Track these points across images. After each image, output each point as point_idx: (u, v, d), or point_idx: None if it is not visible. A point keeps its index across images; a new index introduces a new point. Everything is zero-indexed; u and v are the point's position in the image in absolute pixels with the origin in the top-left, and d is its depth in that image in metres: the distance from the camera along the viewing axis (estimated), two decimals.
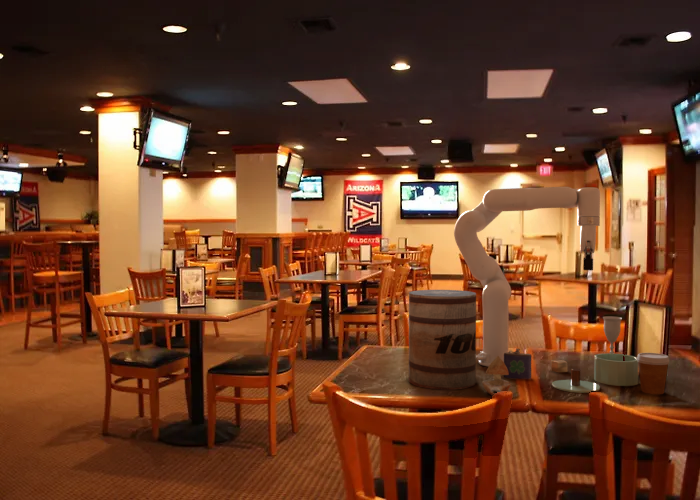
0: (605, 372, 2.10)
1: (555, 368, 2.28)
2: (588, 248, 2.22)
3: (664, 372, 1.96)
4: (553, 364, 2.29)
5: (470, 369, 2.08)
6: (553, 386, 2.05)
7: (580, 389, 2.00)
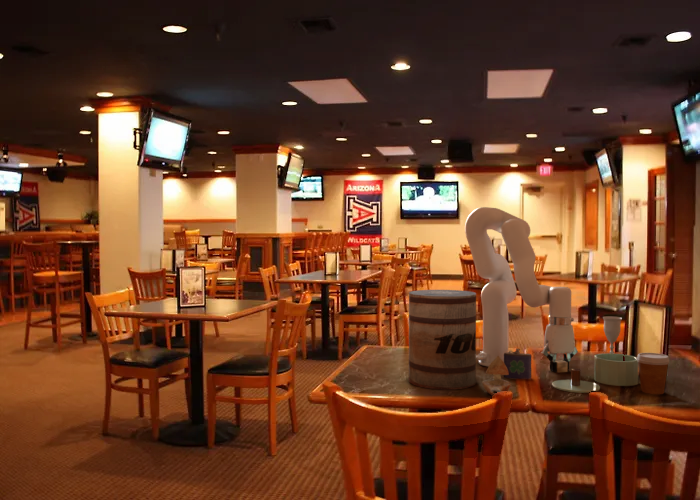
0: (605, 372, 2.10)
1: None
2: (542, 353, 2.27)
3: (664, 372, 1.96)
4: None
5: (470, 369, 2.08)
6: (553, 386, 2.05)
7: (580, 389, 2.00)
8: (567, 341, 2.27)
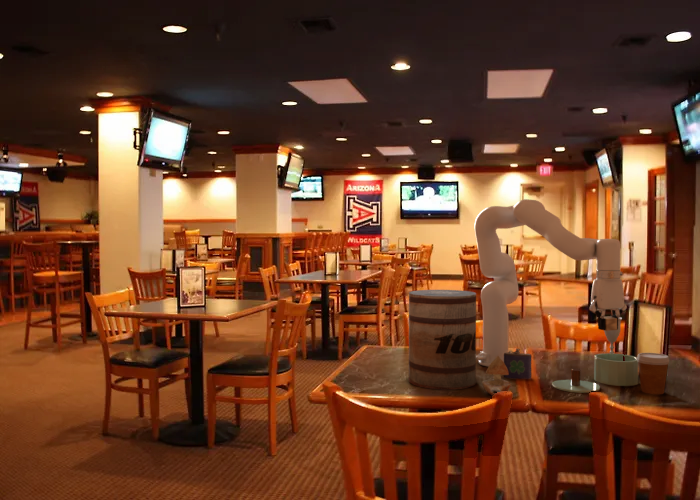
0: (605, 372, 2.10)
1: None
2: (590, 309, 2.14)
3: (664, 372, 1.96)
4: None
5: (470, 369, 2.08)
6: (553, 386, 2.05)
7: (580, 389, 2.00)
8: (617, 296, 2.13)
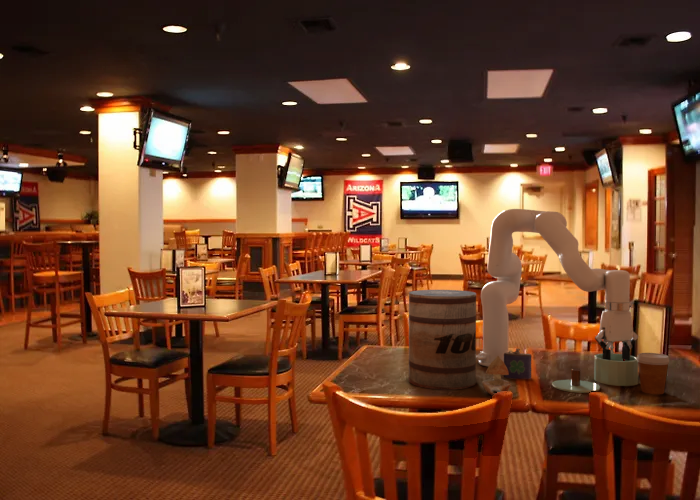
0: (605, 372, 2.10)
1: None
2: (596, 339, 2.12)
3: (664, 372, 1.96)
4: None
5: (470, 369, 2.08)
6: (553, 386, 2.05)
7: (580, 389, 2.00)
8: (625, 328, 2.11)
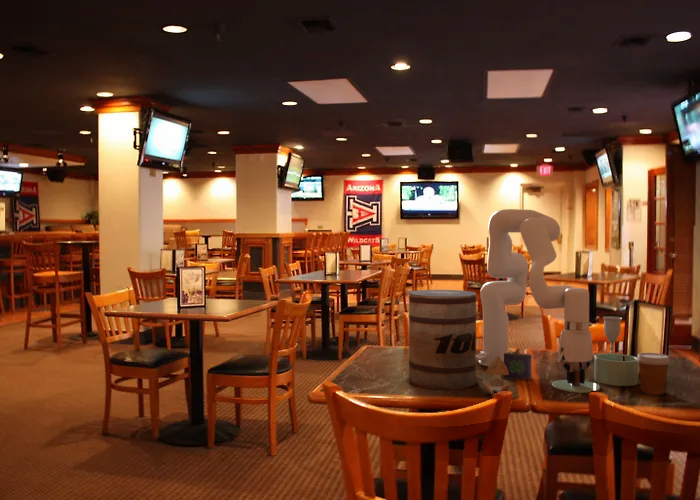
0: (605, 372, 2.10)
1: None
2: (558, 363, 2.04)
3: (664, 372, 1.96)
4: None
5: (470, 369, 2.08)
6: (553, 386, 2.05)
7: (580, 389, 2.00)
8: (585, 349, 2.03)
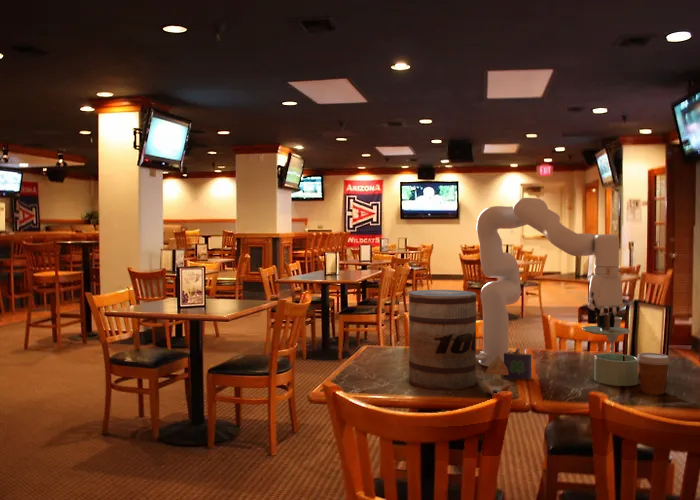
0: (605, 372, 2.10)
1: None
2: (589, 307, 2.09)
3: (664, 372, 1.96)
4: None
5: (470, 369, 2.08)
6: (583, 330, 2.11)
7: (610, 331, 2.05)
8: (615, 293, 2.09)
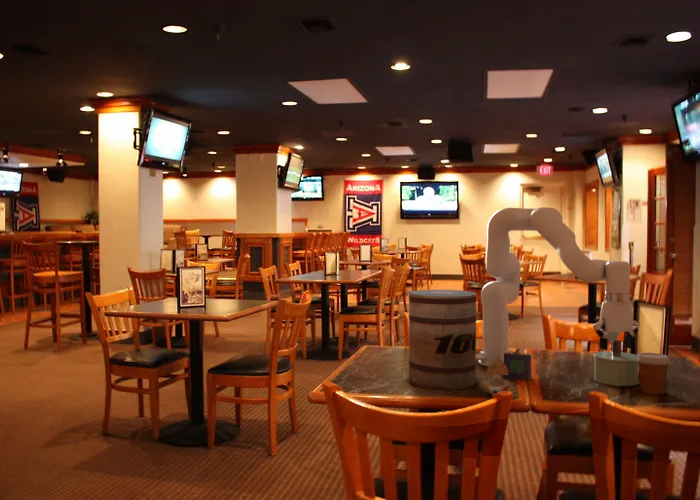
0: (605, 372, 2.10)
1: None
2: (594, 326, 2.11)
3: (664, 372, 1.96)
4: None
5: (470, 369, 2.08)
6: (595, 356, 2.13)
7: (622, 359, 2.08)
8: (625, 319, 2.11)
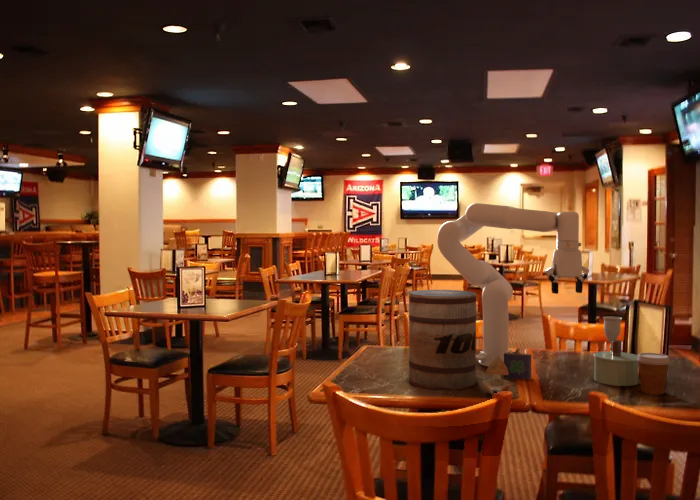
0: (605, 372, 2.10)
1: None
2: (546, 271, 2.29)
3: (664, 372, 1.96)
4: None
5: (470, 369, 2.08)
6: (595, 356, 2.13)
7: (622, 359, 2.08)
8: (575, 265, 2.29)
